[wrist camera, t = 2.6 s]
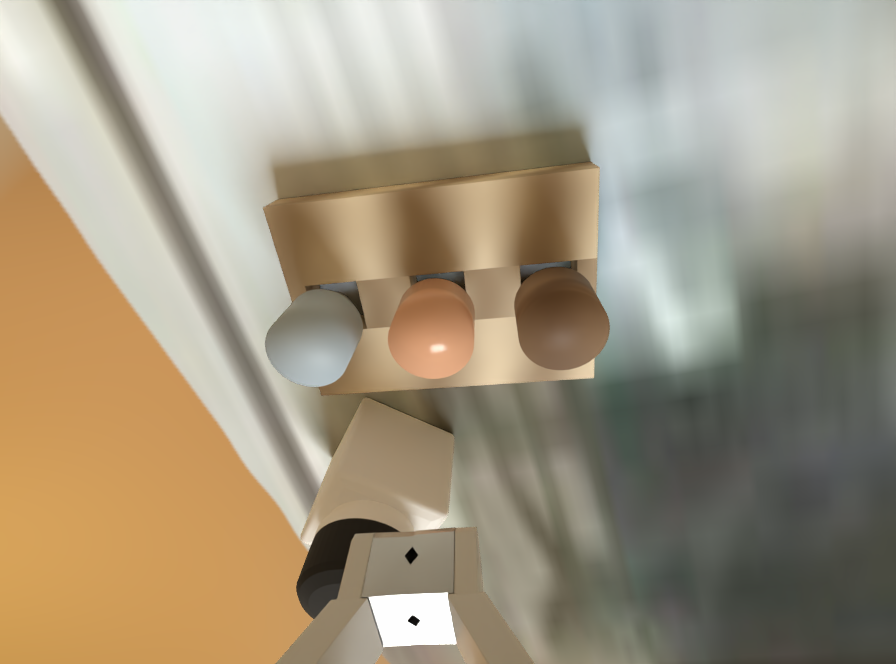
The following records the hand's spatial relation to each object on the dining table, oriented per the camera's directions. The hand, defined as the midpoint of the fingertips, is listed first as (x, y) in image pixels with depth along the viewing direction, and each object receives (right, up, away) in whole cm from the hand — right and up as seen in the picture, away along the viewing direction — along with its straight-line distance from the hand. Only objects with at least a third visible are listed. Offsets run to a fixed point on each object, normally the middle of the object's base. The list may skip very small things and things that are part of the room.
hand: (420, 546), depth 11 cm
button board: (0, +8, +16) cm, 18 cm away
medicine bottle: (-3, -3, +23) cm, 23 cm away
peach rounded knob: (0, +7, +14) cm, 16 cm away
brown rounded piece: (+6, +8, +14) cm, 17 cm away
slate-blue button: (-6, +7, +15) cm, 17 cm away
